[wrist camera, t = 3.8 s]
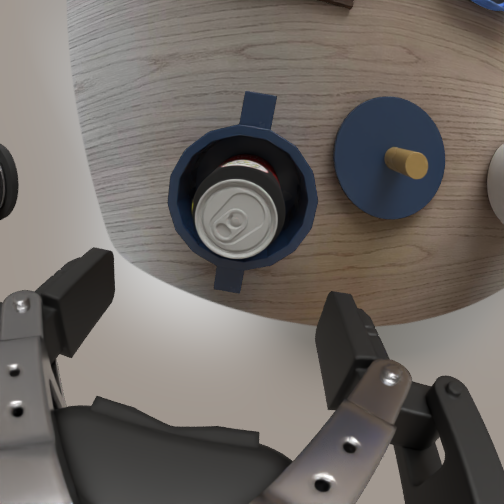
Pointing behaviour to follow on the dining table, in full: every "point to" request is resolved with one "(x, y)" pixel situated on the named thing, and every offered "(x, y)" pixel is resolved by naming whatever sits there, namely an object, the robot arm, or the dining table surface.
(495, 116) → the dining table surface
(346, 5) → the trivet
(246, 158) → the beverage can
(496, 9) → the bowl
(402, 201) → the pot lid
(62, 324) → the robot arm
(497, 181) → the cup
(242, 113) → the pot
